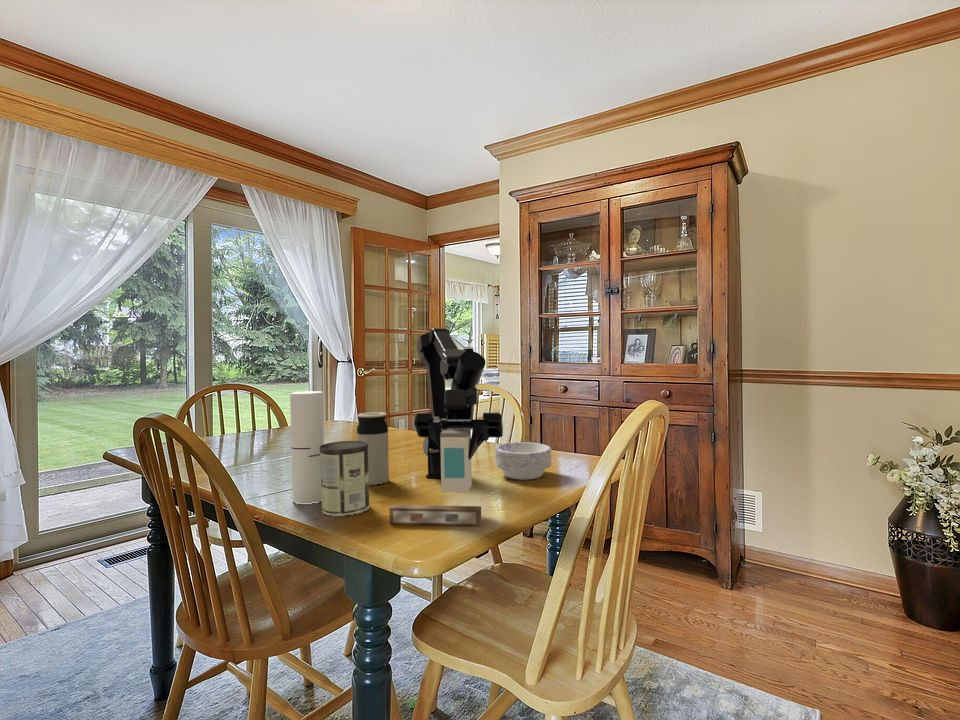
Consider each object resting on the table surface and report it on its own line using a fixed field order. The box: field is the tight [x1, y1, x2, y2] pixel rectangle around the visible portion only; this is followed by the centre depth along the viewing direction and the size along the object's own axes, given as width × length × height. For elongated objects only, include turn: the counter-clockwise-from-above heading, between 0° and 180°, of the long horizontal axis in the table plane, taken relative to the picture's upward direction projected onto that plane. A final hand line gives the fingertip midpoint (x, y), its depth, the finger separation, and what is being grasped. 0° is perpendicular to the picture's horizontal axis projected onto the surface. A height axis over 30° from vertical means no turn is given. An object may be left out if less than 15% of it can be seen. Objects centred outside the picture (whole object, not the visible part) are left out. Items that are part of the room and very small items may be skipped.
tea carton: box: [440, 429, 473, 494], centre depth 103 cm, size 6×6×12 cm
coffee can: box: [319, 440, 371, 517], centre depth 109 cm, size 10×10×14 cm
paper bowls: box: [494, 441, 552, 481], centre depth 135 cm, size 15×15×8 cm
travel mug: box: [356, 411, 390, 486], centre depth 131 cm, size 8×8×18 cm
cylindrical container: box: [289, 390, 325, 503], centre depth 116 cm, size 7×7×25 cm
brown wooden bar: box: [389, 504, 482, 527], centre depth 98 cm, size 18×3×3 cm, turn 84°
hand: (455, 458), depth 102 cm, fingers closed on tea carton, 5 cm apart
